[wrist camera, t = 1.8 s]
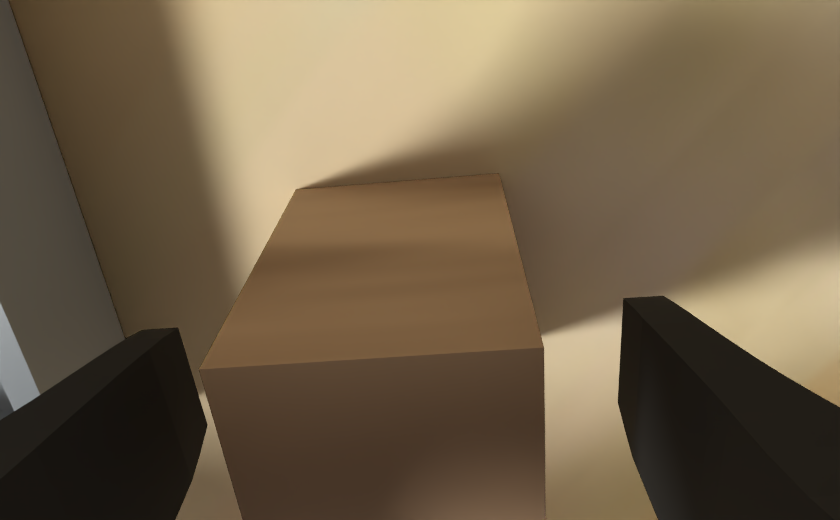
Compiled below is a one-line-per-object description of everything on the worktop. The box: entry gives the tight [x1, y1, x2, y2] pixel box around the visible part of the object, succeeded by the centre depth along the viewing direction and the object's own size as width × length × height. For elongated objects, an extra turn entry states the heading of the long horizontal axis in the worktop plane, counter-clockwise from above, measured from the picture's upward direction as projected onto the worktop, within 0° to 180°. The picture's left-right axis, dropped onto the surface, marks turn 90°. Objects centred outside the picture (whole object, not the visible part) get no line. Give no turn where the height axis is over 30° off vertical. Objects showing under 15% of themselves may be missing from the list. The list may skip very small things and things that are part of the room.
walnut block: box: [199, 173, 546, 520], centre depth 11 cm, size 4×4×6 cm
